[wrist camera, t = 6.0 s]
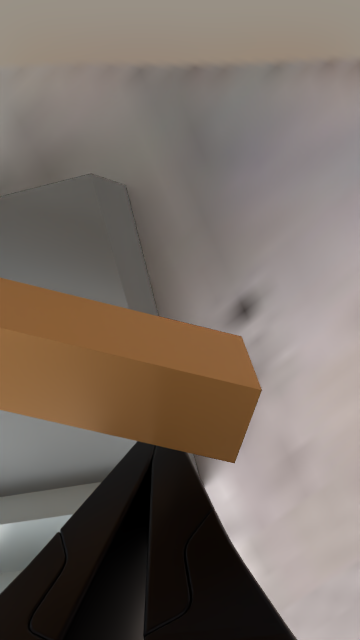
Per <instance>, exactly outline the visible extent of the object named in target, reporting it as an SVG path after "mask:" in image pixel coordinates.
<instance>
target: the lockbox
mask: <svg viewBox="0 0 360 640" xmlns="http://www.w3.org/2000/svg"><path fill="white" fill-rule="evenodd" d="M0 278H4V279H8V280H12V281H16V282H21V283H25V284H29V285H33V286H37V287H41V288H45V289H49V290H53V291H57V292H61V293H65V294H70V295H74V296H78V297H82V298H86V299H90V300H94V301H98V302H102V303H106V304H110V305H115V306H119V307H123V308H127V309H131V310H135V311H139V312H143V313H147V314H151V315H155V316H158V312H157V308H156V304H155V300H154V296H153V292H152V288H151V284H150V280H149V276H148V272H147V268H146V264H145V260H144V256H143V252H142V248H141V244H140V240H139V237H138V233H137V229H136V225H135V221H134V217H133V213H132V209H131V205H130V201H129V197H128V193H127V189H126V185H123V184H120V183H117V182H114V181H111V180H108V179H106V178H103V177H100V176H97V175H94V174H88V175H84V176H80V177H76V178H72V179H68V180H64V181H60V182H56V183H52V184H48V185H44V186H40V187H36V188H32V189H28V190H24V191H20V192H16V193H12V194H8V195H4V196H1V197H0ZM136 442H137V441H135V440H130V439H126V438H121V437H117V436H113V435H108V434H104V433H100V432H95V431H91V430H86V429H82V428H78V427H73V426H69V425H64V424H60V423H56V422H51V421H47V420H43V419H38V418H34V417H29V416H25V415H21V414H16V413H12V412H7V411H3V410H0V497H5V496H11V495H18V494H25V493H31V492H38V491H44V490H51V489H58V488H64V487H71V486H78V485H84V484H91V483H98V482H102V481H103V480H104V479H105V477H106V476H107V475H108V474H109V473H110V472H111V471H112V469H113V468H114V467H115V466H116V465H117V464H118V463H119V462H120V460H121V459H122V458H123V457H124V456H125V455H126V454H127V452H128V451H129V450H130V449H131V448H132V447H133V446H134V444H135V443H136ZM188 454H189V456H190V459H191V461H192V463H193V465H194V467H195V469H196V471H197V473H198V469H197V466H196V462H195V458H194V454H192V453H188ZM198 475H199V473H198Z"/></svg>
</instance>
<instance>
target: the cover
mask: <svg viewBox="0 0 360 640" xmlns="http://www.w3.org/2000/svg"><path fill="white" fill-rule="evenodd" d="M100 483H101V482H98V483H91V484H84V485H78V486H71V487H64V488H58V489H51V490H44V491H38V492H31V493H25V494H18V495H11V496H5V497H0V593H1V592H2V591H3V590H4V589H5V588H6V587H7V586H8V585H9V584H10V583H11V582H12V581H13V580H14V579H15V578H16V577H17V576H18V575H19V574H20V573H21V572H22V571H23V570H24V569H25V568H26V567H27V565H28V564H29V563H30V562H31V561H32V560H33V559H34V558H35V557H36V556H37V555H38V553H39V552H40V551H41V550H42V549H43V548H44V547H45V546H46V545H47V543H48V542H49V541H50V540H51V539H52V538H53V537H54V535H55V534H56V533H57V532H60V529H61V528H62V527H63V525H64V524H65V523H66V522H67V521H68V520H69V519H70V517H71V516H72V515H73V514H74V513H75V512H76V511H77V509H78V508H79V507H80V506H81V505H82V504H83V503H84V501H85V500H86V499H87V498H88V497H89V496H90V495H91V493H92V492H93V491H94V490H95V489H96V488H97V487H98V485H99V484H100Z"/></svg>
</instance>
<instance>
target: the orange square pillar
mask: <svg viewBox="0 0 360 640" xmlns="http://www.w3.org/2000/svg"><path fill="white" fill-rule="evenodd" d="M261 391H262V389H261V387H260V384H259V381H258V379H257V376H256V373H255V371H254V368H253V365H252V363H251V360H250V358H249V355H248V352H247V350H246V347H245V344H244V342H243V339H242V337H241V336H237V335H233V334H229V333H225V332H221V331H217V330H213V329H209V328H205V327H200V326H196V325H192V324H188V323H184V322H180V321H176V320H172V319H168V318H164V317H160V316H155V315H151V314H147V313H143V312H139V311H135V310H131V309H127V308H123V307H119V306H115V305H110V304H106V303H102V302H98V301H94V300H90V299H86V298H82V297H78V296H74V295H70V294H65V293H61V292H57V291H53V290H49V289H45V288H41V287H37V286H33V285H29V284H25V283H21V282H16V281H12V280H8V279H4V278H0V410H3V411H7V412H12V413H16V414H21V415H25V416H29V417H34V418H38V419H43V420H47V421H51V422H56V423H60V424H64V425H69V426H73V427H78V428H82V429H86V430H91V431H95V432H100V433H104V434H108V435H113V436H117V437H121V438H126V439H130V440H135V441H139V442H143V443H148V444H152V445H157V446H161V447H165V448H170V449H174V450H178V451H183V452H187V453H192V454H196V455H200V456H205V457H209V458H214V459H218V460H222V461H227V462H231V463H235V461H236V458H237V455H238V453H239V450H240V447H241V445H242V442H243V439H244V437H245V434H246V431H247V429H248V426H249V423H250V420H251V418H252V415H253V412H254V410H255V407H256V404H257V402H258V399H259V396H260V394H261Z"/></svg>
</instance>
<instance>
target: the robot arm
mask: <svg viewBox="0 0 360 640" xmlns="http://www.w3.org/2000/svg"><path fill="white" fill-rule="evenodd" d="M0 640H297V639H296V637H295V636H294V635H293V633H292V632H291V631H290V629H289V628H288V626H287V625H286V624H285V622H284V621H283V619H282V618H281V616H280V615H279V613H278V612H277V610H276V609H275V607H274V606H273V605H272V603H271V602H270V600H269V599H268V597H267V596H266V594H265V593H264V591H263V590H262V588H261V587H260V585H259V584H258V583H257V581H256V580H255V578H254V577H253V575H252V574H251V572H250V571H249V569H248V568H247V566H246V565H245V563H244V562H243V560H242V559H241V557H240V555H239V554H238V552H237V550H236V549H235V547H234V546H233V544H232V542H231V540H230V539H229V537H228V535H227V533H226V531H225V529H224V527H223V525H222V523H221V521H220V519H219V517H218V515H217V513H216V511H215V509H214V507H213V505H212V503H211V501H210V498H209V496H208V494H207V492H206V490H205V488H204V486H203V484H202V482H201V480H200V477H199V475H198V473H197V471H196V469H195V467H194V465H193V463H192V461H191V459H190V456H189V454H188V453H187V452H183V451H178V450H174V449H170V448H165V447H161V446H157V445H152V444H148V443H143V442H139V441H137V442H136V443H135V444H134V446H133V447H132V448H131V449H130V450H129V451H128V452H127V454H126V455H125V456H124V457H123V458H122V459H121V460H120V462H119V463H118V464H117V465H116V466H115V467H114V468H113V469H112V471H111V472H110V473H109V474H108V475H107V476H106V477H105V479H104V480H103V481H102V482H101V483H100V484H99V485H98V487H97V488H96V489H95V490H94V491H93V492H92V493H91V495H90V496H89V497H88V498H87V499H86V500H85V501H84V503H83V504H82V505H81V506H80V507H79V508H78V509H77V511H76V512H75V513H74V514H73V515H72V516H71V517H70V519H69V520H68V521H67V522H66V523H65V524H64V525H63V527H62V528H61V529H60V532H57V533H56V534H55V535H54V537H53V538H52V539H51V540H50V541H49V542H48V543H47V545H46V546H45V547H44V548H43V549H42V550H41V551H40V552H39V553H38V555H37V556H36V557H35V558H34V559H33V560H32V561H31V562H30V563H29V564H28V565H27V567H26V568H25V569H24V570H23V571H22V572H21V573H20V574H19V575H18V576H17V577H16V578H15V579H14V580H13V581H12V582H11V583H10V584H9V585H8V586H7V587H6V588H5V589H4V590H3V591H2V592H1V593H0Z"/></svg>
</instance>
